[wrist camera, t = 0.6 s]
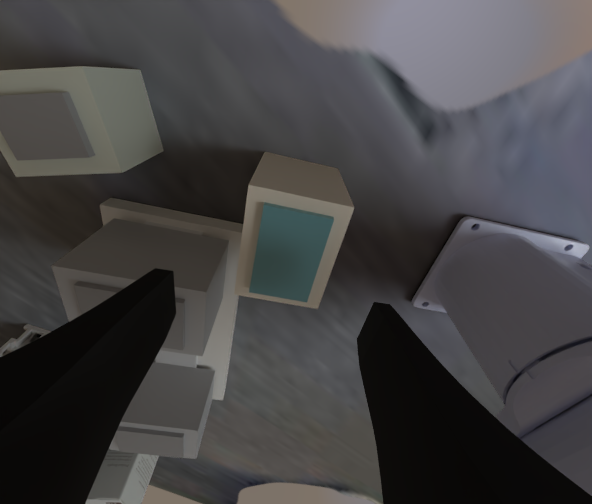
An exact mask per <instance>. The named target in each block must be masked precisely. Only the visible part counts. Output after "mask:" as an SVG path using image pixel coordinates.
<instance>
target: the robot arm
mask: <svg viewBox="0 0 592 504" xmlns="http://www.w3.org/2000/svg"><path fill="white" fill-rule="evenodd" d="M474 224H476V226H475V227H473V228H471V227H472V226H473V225H474ZM588 250H589V245H588V244H586V243H584V242H581V241H577V240H573V239H568V238H564V237H559V236H555V235H550V234H546V233H541V232H537V231H532V230H528V229H524V228H519V227H515V226H510V225H506V224H501V223H497V222H492V221H488V220H483V219H479V218H475V217H470V216H467V217H464V218H462V219H461V220H460V221H459V223H458V224H457V226H456V228H455V229H454V231H453V232H452V234H451V236H450V237H449V239H448V241H447V242H446V244H445V246H444V247H443V249H442V251H441V252H440V254H439V256H438V257H437V259H436V261H435V262H434V264H433V266H432V267H431V269H430V271H429V272H428V274H427V276H426V277H425V279H424V281H423V282H422V284H421V286H420V287H419V289H418V290H417V292H416V294H415V295H414V297H413V299H412V304H413V306H414V307H417V308H422V309H428V310H433V311H439V312H444V313H448V315H449V317H450V318H451V320H452V321H453V323H454V325H455V326H456V328H457V329H458V331H459V333H460V334H461V336H462V337H463V339H464V341H465V342H466V344H467V345H468V347H469V348H470V350H471V352H472V353H473V355H474V356H475V358H476V360H477V361H478V363H479V364H480V366H481V368H482V369H483V371H484V372H485V374H486V376H487V377H488V379H489V380H490V382H491V384H492V385H493V387H494V388H495V390H496V391H497V393H498V395H499V396H500V398H501V399H502V401H503V403H504V404H505V407H504V408H503V409H502V410H501V411H500V412H499V413H498V414H497V415H496V416H497V418H498V419H499V420H497V419H496V418H495V417H494V416H493V415H492V414H491V413H490V412H489V411H488V410H487V409H486V408H485V407H483V406H482V405H481V404H480V403H479V402H478V401H477V400H476V399H475V398H474V397H473V396H472V395H471V394H470V393H469V392H468V391H467V390H466V389H465V388H464V387H463V386H462V385H461V384H460V383H459V382H458V381H457V380H456V379H455V378H454V377H453V376H452V375H451V374H450V373H449V372H448V371H447V370H446V368H445V367H444V366H443V365H442V364H441V363H440V362H439V361H438V360H437V359H436V358H435V356H434V355H433V354H432V353H431V352H430V351H429V350H428V348H427V347H426V346H425V345H424V344H423V343H422V341H421V340H420V339H419V338H418V337H417V336H416V334H415V333H414V332H413V331H412V330H411V328H410V327H409V326H408V325H407V324H406V322H405V321H404V320H403V319H402V318H401V317H400V315H399V314H398V313H397V312H396V311H395V310H394V308H393V307H392V306H391V305H390V304H384V303H377V302H374V303H373V305H372V308H371V310H370V312H369V314H368V316H367V318H366V321H365V323H364V325H363V327H362V329H361V332H360V334H359V336H358V338H357V344H358V356H359V366H360V371H361V375H362V380H363V385H364V389H365V394H366V398H367V403H368V407H369V411H370V416H371V420H372V425H373V429H374V435H375V440H376V446H377V453H378V461H379V468H380V476H381V485H382V494H383V503H384V504H592V266H591V265H590V264H588V263H587V262H585V261H584V260H582V259H581V258H582V257H583V255H584V254H585V253H586V252H587V251H588ZM424 302H426V303H424ZM175 315H176V302H175V287H174V272H173V271H171V270H164V269H158V268H155V269H153V270H152V271H150V272H148V273H147V274H145V275H144V276H142V277H141V278H139V279H138V280H136V281H135V282H133V283H132V284H130V285H128V286H127V287H125V288H124V289H122V290H121V291H119V292H118V293H116V294H115V295H113V296H111V297H110V298H108V299H107V300H105V301H103V302H102V303H100V304H99V305H97V306H96V307H94V308H92V309H90V310H89V311H87V312H85V313H83V314H82V315H80V316H78V317H77V318H75V319H73V320H71V321H70V322H68V323H66V324H65V325H63V326H61V327H59V328H57V329H56V330H54V331H52V332H50V333H48V334H46V335H44V336H42V337H41V338H39V339H37V340H35V341H33V342H31V343H29V344H27V345H25V346H23V347H21V348H19V349H17V350H15V351H13V352H11V353H8V354H6V355H4V356H2V357H0V504H85V503H86V500H87V498H88V496H89V493H90V491H91V488H92V486H93V484H94V481H95V479H96V477H97V474H98V472H99V470H100V467H101V465H102V463H103V460H104V458H105V456H106V453H107V451H108V449H109V447H110V444H111V442H112V440H113V438H114V436H115V433H116V431H117V429H118V427H119V425H120V422H121V420H122V418H123V416H124V414H125V412H126V410H127V408H128V406H129V404H130V402H131V401H132V399H133V397H134V395H135V393H136V392H137V390H138V388H139V386H140V385H141V383H142V381H143V379H144V378H145V376H146V374H147V372H148V370H149V369H150V367H151V365H152V363H153V362H154V360H155V358H156V356H157V354H158V353H159V351H160V349H161V347H162V345H163V344H164V342H165V340H166V337H167V335H168V333H169V330H170V328H171V325H172V323H173V320H174V318H175Z"/></svg>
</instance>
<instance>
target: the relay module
mask: <svg viewBox="0 0 592 504" xmlns="http://www.w3.org/2000/svg"><path fill="white" fill-rule="evenodd" d="M354 208H355V207H354V205H353V203H352V200H351V198H350V196H349V193H348V191H347V189H346V186H345V184H344V181H343V179H342V177H341V174H340V172H339V170H338V168H333V167H329V166H325V165H321V164H316V163H312V162H308V161H303V160H299V159H295V158H290V157H286V156H282V155H277V154H273V153H269V152H264V154H263V156H262V158H261V160H260V162H259V164H258V166H257V168H256V170H255V172H254V174H253V176H252V179H251V181H250V183H249V185H248V192H247V200H246V208H245V215H244V223H243V230H242V238H241V245H240V253H239V260H238V268H237V275H236V283H235V290H234V295H240V296H245V297H251V298H257V299H263V300H268V301H274V302H280V303H286V304H291V305H297V306H303V307H308V308H314V309H318V307H319V304H320V301H321V299H322V296H323V293H324V290H325V288H326V285H327V282H328V279H329V277H330V274H331V271H332V268H333V266H334V263H335V260H336V257H337V255H338V252H339V249H340V246H341V244H342V241H343V238H344V235H345V233H346V230H347V227H348V224H349V222H350V219H351V216H352V213H353V211H354Z"/></svg>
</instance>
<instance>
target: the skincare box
mask: <svg viewBox="0 0 592 504" xmlns="http://www.w3.org/2000/svg"><path fill="white" fill-rule="evenodd" d="M158 457H159V456H157V455H148V454H138V453H129V452H119V451H117V450H110V449H108V451H107V453H106V456H105V458H104V460H103V463H102V465H101V467H100V470H99V472H98V474H97V477H96V479H95V481H94V484H93V486H92V488H91V491H90V493H89V496H88V498H87V500H86V503H85V504H141V503H142V500H143V498H144V495H145V492H146V489H147V487H148V484H149V481H150V479H151V476H152V473H153V470H154V468H155V465H156V462H157V460H158Z"/></svg>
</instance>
